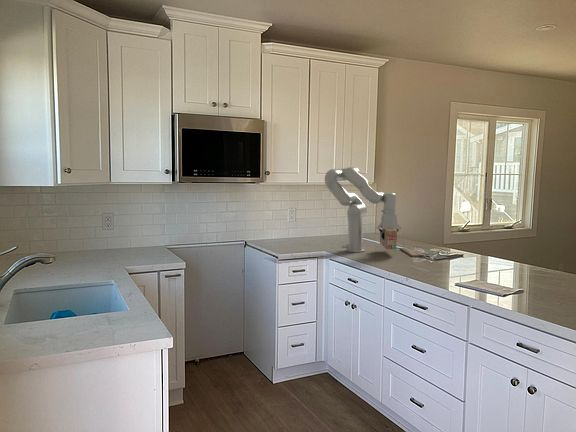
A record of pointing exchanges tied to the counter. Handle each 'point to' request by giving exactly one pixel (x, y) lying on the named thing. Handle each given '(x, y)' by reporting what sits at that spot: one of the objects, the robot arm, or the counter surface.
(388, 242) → the cardboard product box
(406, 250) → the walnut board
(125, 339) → the counter surface
